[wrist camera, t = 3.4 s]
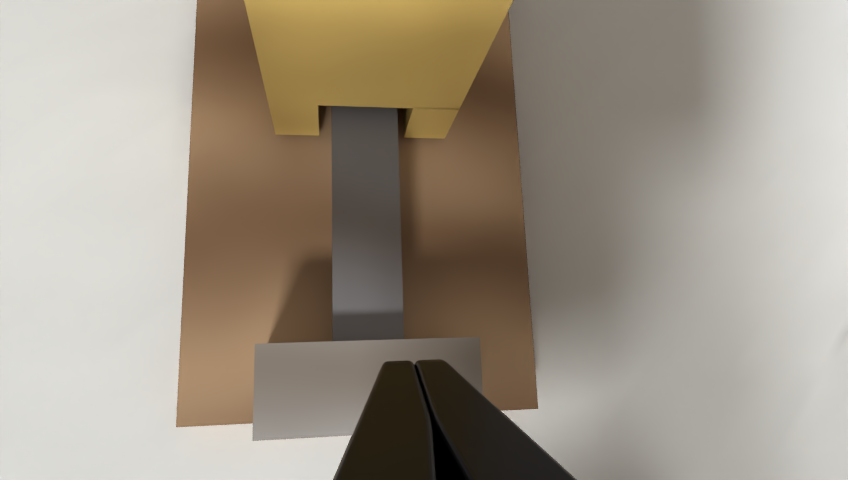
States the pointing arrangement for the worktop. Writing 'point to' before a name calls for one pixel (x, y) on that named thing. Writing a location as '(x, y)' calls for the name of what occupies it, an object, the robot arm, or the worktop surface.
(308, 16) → the yellow rectangular block
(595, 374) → the worktop surface
